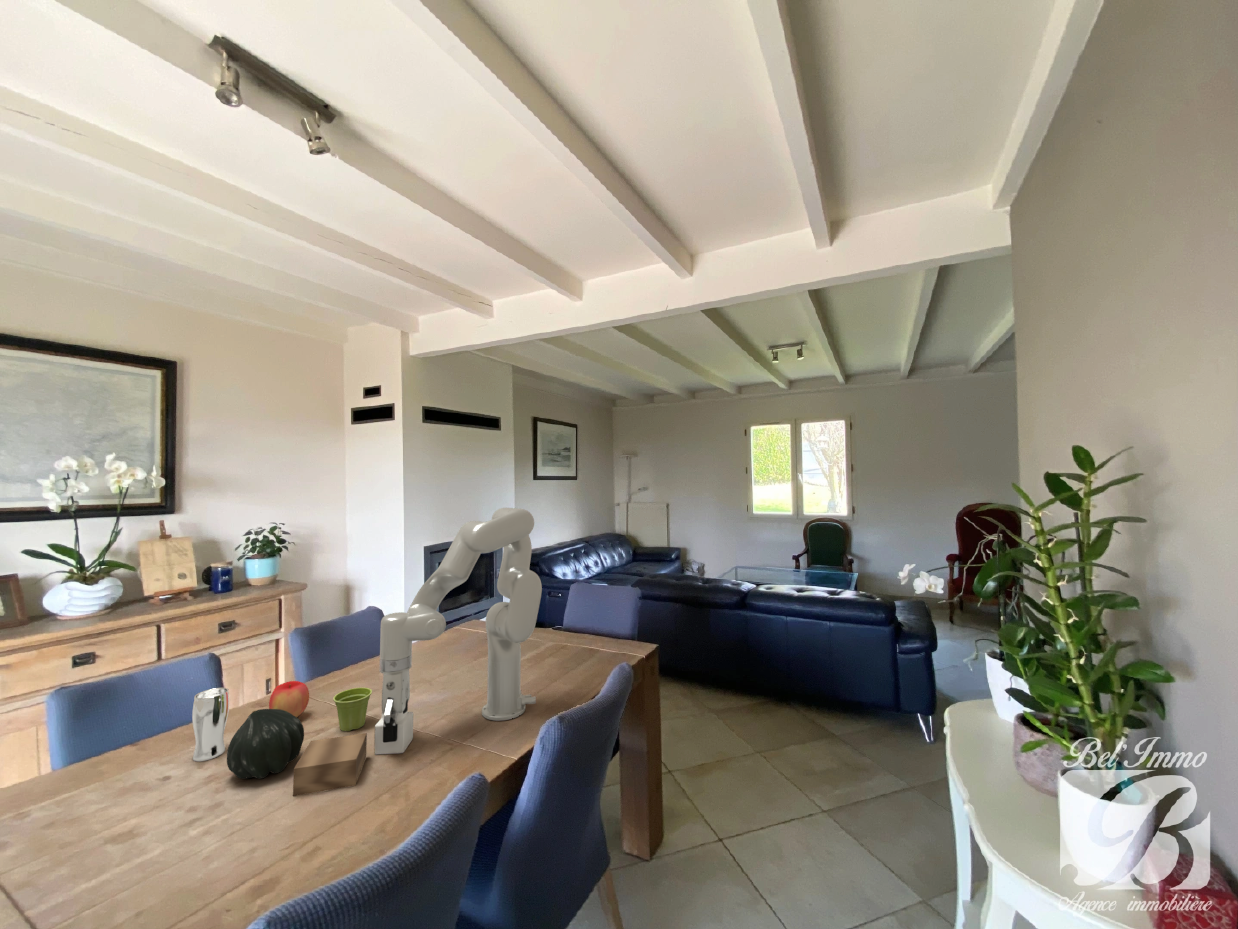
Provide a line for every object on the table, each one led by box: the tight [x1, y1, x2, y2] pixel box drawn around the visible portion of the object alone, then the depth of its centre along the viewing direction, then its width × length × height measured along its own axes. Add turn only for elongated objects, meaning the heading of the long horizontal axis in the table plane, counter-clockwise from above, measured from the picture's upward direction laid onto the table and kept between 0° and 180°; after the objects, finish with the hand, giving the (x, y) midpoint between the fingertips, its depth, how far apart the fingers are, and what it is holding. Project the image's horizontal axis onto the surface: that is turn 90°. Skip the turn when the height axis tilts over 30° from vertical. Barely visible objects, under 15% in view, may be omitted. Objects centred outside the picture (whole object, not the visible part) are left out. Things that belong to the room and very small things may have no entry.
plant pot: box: [332, 687, 373, 732], centre depth 133 cm, size 9×9×9 cm
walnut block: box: [292, 732, 368, 797], centre depth 110 cm, size 12×12×6 cm
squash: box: [226, 708, 305, 780], centre depth 113 cm, size 14×15×15 cm
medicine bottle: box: [373, 699, 414, 755], centre depth 123 cm, size 7×7×12 cm
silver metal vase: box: [191, 687, 230, 762], centre depth 119 cm, size 7×7×15 cm
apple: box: [268, 680, 310, 718], centre depth 137 cm, size 10×10×10 cm
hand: (394, 732), depth 122 cm, fingers closed on medicine bottle, 7 cm apart
